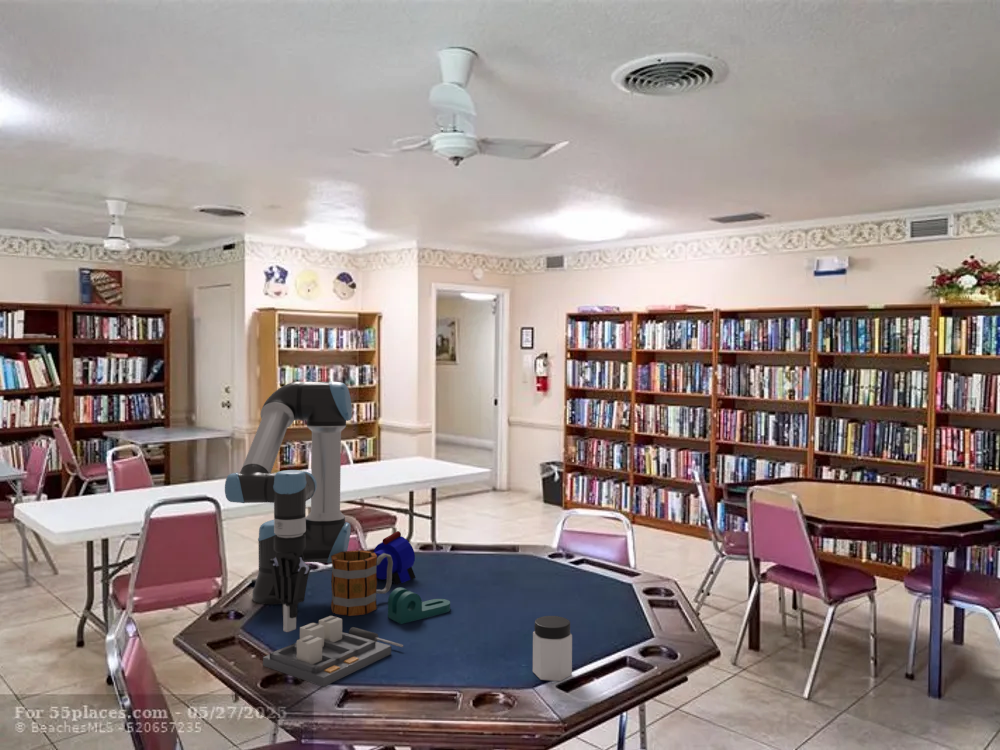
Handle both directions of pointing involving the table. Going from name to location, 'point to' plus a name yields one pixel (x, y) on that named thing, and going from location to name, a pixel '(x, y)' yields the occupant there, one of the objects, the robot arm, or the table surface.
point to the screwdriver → (370, 636)
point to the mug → (357, 581)
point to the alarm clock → (396, 558)
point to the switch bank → (329, 659)
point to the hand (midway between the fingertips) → (289, 629)
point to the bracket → (413, 606)
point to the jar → (552, 648)
